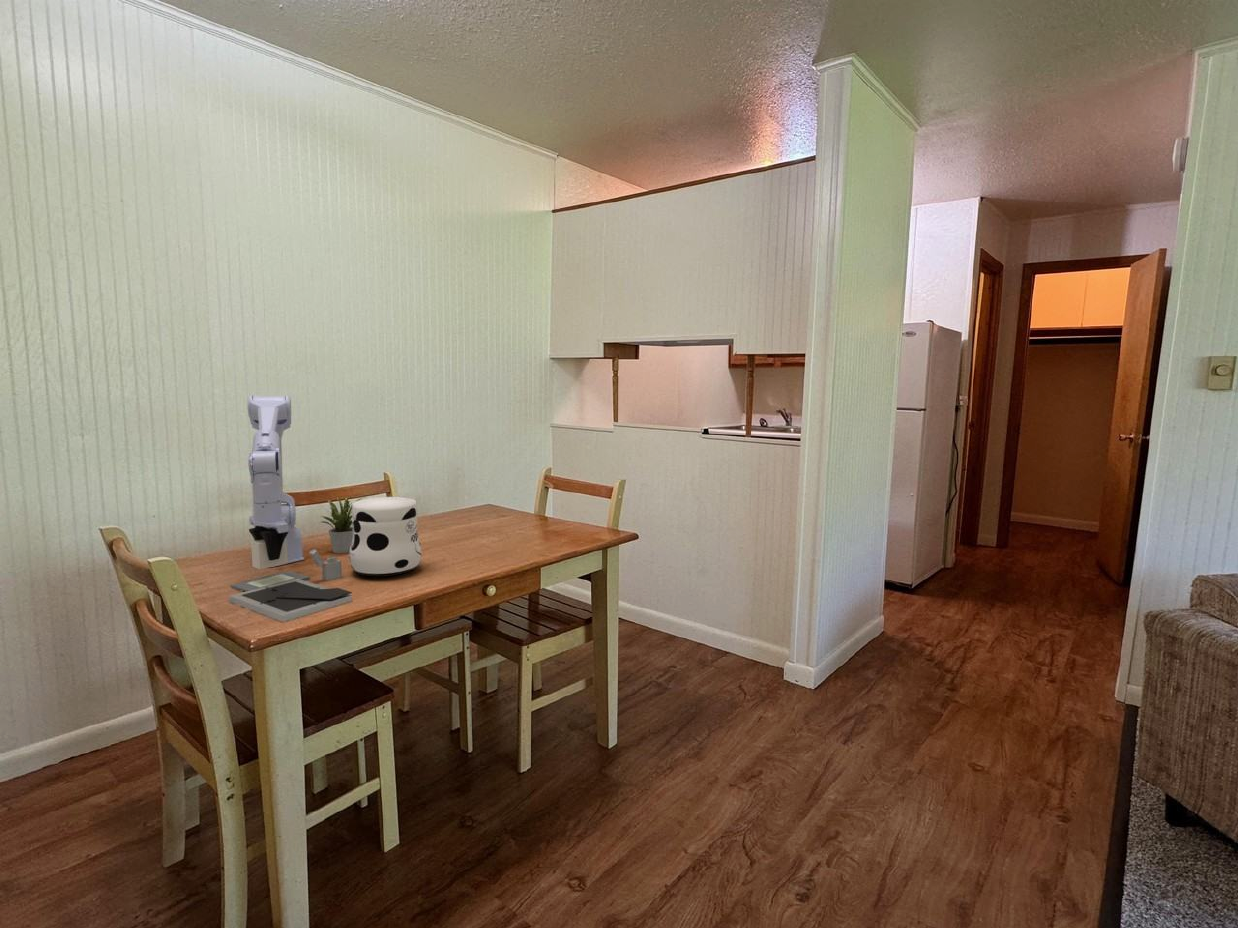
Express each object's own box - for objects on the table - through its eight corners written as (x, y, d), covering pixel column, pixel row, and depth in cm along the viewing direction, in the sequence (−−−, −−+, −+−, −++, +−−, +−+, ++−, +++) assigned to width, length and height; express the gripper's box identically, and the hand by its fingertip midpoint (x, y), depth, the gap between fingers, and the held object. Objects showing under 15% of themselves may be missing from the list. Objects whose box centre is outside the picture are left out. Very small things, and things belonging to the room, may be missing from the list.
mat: (288, 573, 164) (288, 570, 164) (309, 579, 160) (309, 576, 160) (231, 587, 152) (230, 584, 152) (252, 594, 148) (252, 591, 148)
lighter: (338, 576, 163) (337, 544, 162) (342, 577, 162) (341, 545, 161) (309, 582, 157) (308, 549, 156) (312, 583, 156) (311, 551, 155)
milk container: (436, 568, 170) (434, 500, 168) (381, 585, 156) (379, 511, 153) (390, 558, 179) (388, 493, 177) (335, 574, 164) (332, 503, 162)
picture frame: (352, 604, 145) (298, 586, 156) (351, 592, 145) (297, 575, 156) (283, 625, 132) (229, 604, 143) (282, 612, 131) (228, 592, 143)
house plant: (383, 545, 192) (381, 490, 190) (360, 558, 179) (358, 499, 177) (337, 543, 194) (335, 489, 192) (310, 556, 180) (308, 497, 178)
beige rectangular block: (252, 566, 154) (251, 541, 153) (280, 560, 159) (279, 536, 158) (259, 569, 152) (258, 543, 151) (287, 563, 157) (286, 538, 156)
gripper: (300, 502, 153) (302, 559, 154) (269, 495, 161) (271, 549, 163) (269, 507, 147) (272, 566, 149) (238, 499, 155) (242, 555, 157)
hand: (270, 557), depth 155 cm, fingers closed on beige rectangular block, 3 cm apart
